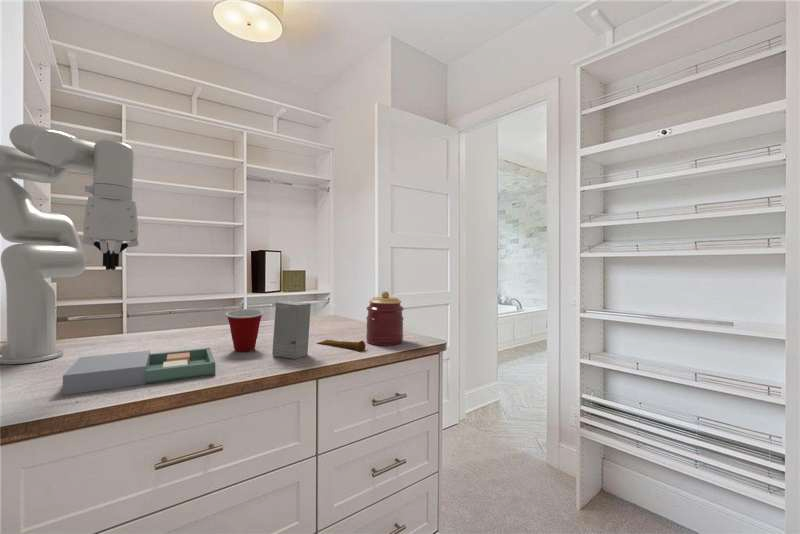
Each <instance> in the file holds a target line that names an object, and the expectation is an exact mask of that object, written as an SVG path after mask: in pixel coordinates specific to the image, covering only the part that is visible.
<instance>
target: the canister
mask: <svg viewBox="0 0 800 534" xmlns="http://www.w3.org/2000/svg"><path fill="white" fill-rule="evenodd" d="M389 293H390V292H388V291H383V292H382V293H381V296H375V297H372V299H369V301H368V303H369V305H368V306H367V307H366V310H367V316H366V317H365V318H366V334H365V339H366V342H367V343H368V344H370V345H375V346H395V345H399V344H402V343H403V339H404V319H405V318H404V317H403V311H404V309H405V308H404V307H403V306H402V305H401V303H402V301H401V299H399V298H398V297H395V296H394V297H393V296H390V294H389Z"/></svg>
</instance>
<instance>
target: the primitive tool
mask: <svg viewBox="0 0 800 534" xmlns="http://www.w3.org/2000/svg"><path fill="white" fill-rule="evenodd" d="M316 345H322V346H330V347H336V348H341V349H349V350H353V351H355V350H356V351H357V352H364V351H365V349H366V343H365V342H364V340H360V341H345V340H344V341H343V340H342V341H340V340H339V341H337V340H333V339H325V340H323V341H319V342H317V343H316Z"/></svg>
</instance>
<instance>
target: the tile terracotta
mask: <svg viewBox="0 0 800 534" xmlns="http://www.w3.org/2000/svg"><path fill="white" fill-rule="evenodd" d="M178 360H187V362H188V365H190V352H188V353H178V354H168V355H167V359H166V362H169V361H178Z"/></svg>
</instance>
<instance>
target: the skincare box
mask: <svg viewBox="0 0 800 534" xmlns="http://www.w3.org/2000/svg"><path fill="white" fill-rule="evenodd" d="M311 305H312V304H311V303H308V302H302V301H294V300H293V301H292V300H287V301H286V300H285V301H284V300H283V301H276V302H275V310H274V311H275V313H274V326H273V339H272V342H273V343H272V357H277V358H283V359H291V360H292V359H293V360H296V359H300V358H302V357H305V356H308V352H309V337H310V322H311V320H310V318H311Z"/></svg>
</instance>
